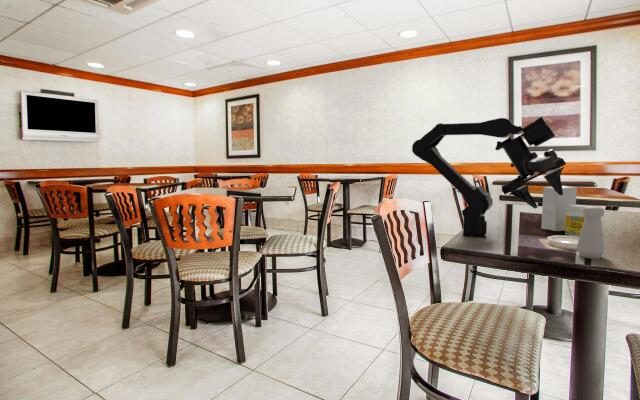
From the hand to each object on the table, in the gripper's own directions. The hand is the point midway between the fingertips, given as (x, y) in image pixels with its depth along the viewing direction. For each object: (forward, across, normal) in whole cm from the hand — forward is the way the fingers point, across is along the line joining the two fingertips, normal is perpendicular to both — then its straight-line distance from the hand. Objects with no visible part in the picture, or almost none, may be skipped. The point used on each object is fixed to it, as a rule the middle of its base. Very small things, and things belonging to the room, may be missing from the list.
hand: (549, 201), depth 107 cm
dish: (+13, -2, 0) cm, 13 cm away
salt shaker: (+16, -7, -11) cm, 20 cm away
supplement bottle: (+14, +10, +12) cm, 21 cm away
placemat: (+14, -2, 0) cm, 14 cm away
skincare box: (+12, +12, +20) cm, 26 cm away
